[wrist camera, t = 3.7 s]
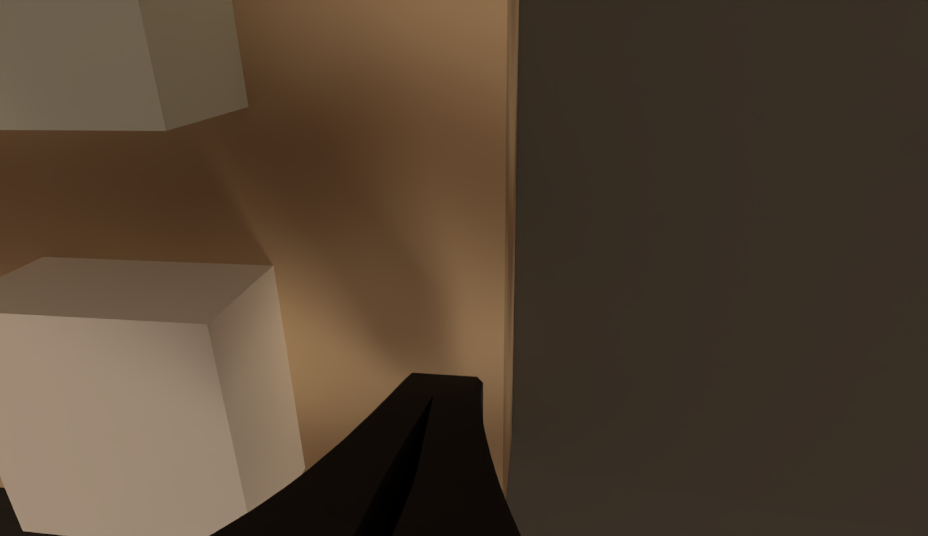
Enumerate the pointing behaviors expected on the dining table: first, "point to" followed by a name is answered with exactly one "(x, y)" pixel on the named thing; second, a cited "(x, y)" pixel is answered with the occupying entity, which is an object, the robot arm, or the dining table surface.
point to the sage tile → (117, 64)
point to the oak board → (323, 197)
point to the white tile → (143, 396)
